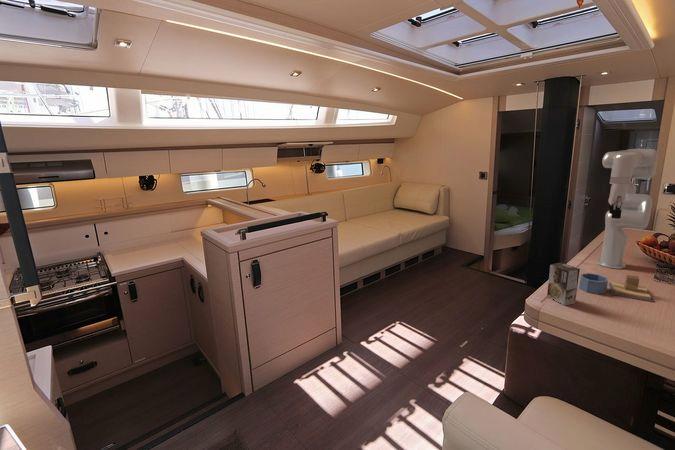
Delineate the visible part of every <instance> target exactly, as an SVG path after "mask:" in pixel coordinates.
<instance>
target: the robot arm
mask: <svg viewBox="0 0 675 450" xmlns="http://www.w3.org/2000/svg"><path fill="white" fill-rule="evenodd" d="M658 159H659V155H658V152H657V150H656V149H654V148H630V149H625V150H617V151H607V152H606V153H605V154H604V155H603V157H602V159H601V161H602V166H603V168H605V169H611V173H610V179H609V184H611V186H610V192H609V198H608V200H607V201H608V204H609V205H610V207H609V209H608V211H606V213H605V216H604V220H605V223H604V224H605V227H604V229H605V230H604V236H603V242H602V248H601V254H600V259H599V258H598V259H597V260H596V264H597V265H599V266H601V267H604V268H609V269H618V270H619V269H622V270H623V269H625V268H627V267H626V266H627V265H626V263H624V262H623V261H624V256H625V251H626V245H627V240H628V234H627V232H626V231H625V229H634V230H644V229H646V228H647V227H648V225H649V223H650V218H651V217H650V216H651V213H652V206H653V198H652V197H651V195H649V194H646V193H645V194H643V193H642V194H641V193H636V191H637V187H636V185H635V183H633V182H632V179H639V180H640V179H642V180H643V179H644V180H650V179H652V178H654V177H655V176H656V173H657V168H658V166H657V165H658V161H659V160H658Z"/></svg>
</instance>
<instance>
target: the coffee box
mask: <svg viewBox="0 0 675 450" xmlns="http://www.w3.org/2000/svg"><path fill="white" fill-rule="evenodd" d="M580 271H581V268H579V267H578V268H577V267H575V266H573V265H570V264H567V263H564V262H556V263H552V264H551V263H550V266H549V275H548V285H547V293H546V297H547V296H548V297H549V298H548V297H547V298H548V299H550V298H551V299H550V300H552V299H554V300H555V302H556V301H557V302H556V303H558V302H559V303H558V304H560V303H561V304H560V305H562V304H563V305H562V306H569V305H574V304H575V303H576V300H577V292H578V287H579V280H580ZM554 300H553V301H554Z"/></svg>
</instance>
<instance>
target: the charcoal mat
mask: <svg viewBox="0 0 675 450" xmlns="http://www.w3.org/2000/svg"><path fill="white" fill-rule="evenodd" d="M608 286H609V290H610V294H611V296H616V297H622V298H625V299H626V298H627V299H633V300H639V301H643V302H644V301H645V302H648V303H649V302H650V303H654V302H655V301H654V298H653V297H652V294H651V293H650V291H649V288H646V289H647V291H648V292H649V294H650V296H651V299H650V300H649V299H643V298H637V297H632V296H626V295H620V294H615V293H614V290H613V286H612V282H608Z"/></svg>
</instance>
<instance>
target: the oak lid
mask: <svg viewBox="0 0 675 450" xmlns="http://www.w3.org/2000/svg"><path fill="white" fill-rule="evenodd" d="M624 280H625V281H624V283H622V282H616V281H611V283H612V286H613V290H614V293H615V294H620V295H626V296H632V297H637V298H643V299H649V300H650V299H651V296H652V295H651V296H650V294H651V293H650V294H649V292H650V291H649V292H648V291H647V289H648V288H647V287H646V286H642V285H639V284H640V277H639V276H638V275H632V274H626V275H625V279H624Z"/></svg>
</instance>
